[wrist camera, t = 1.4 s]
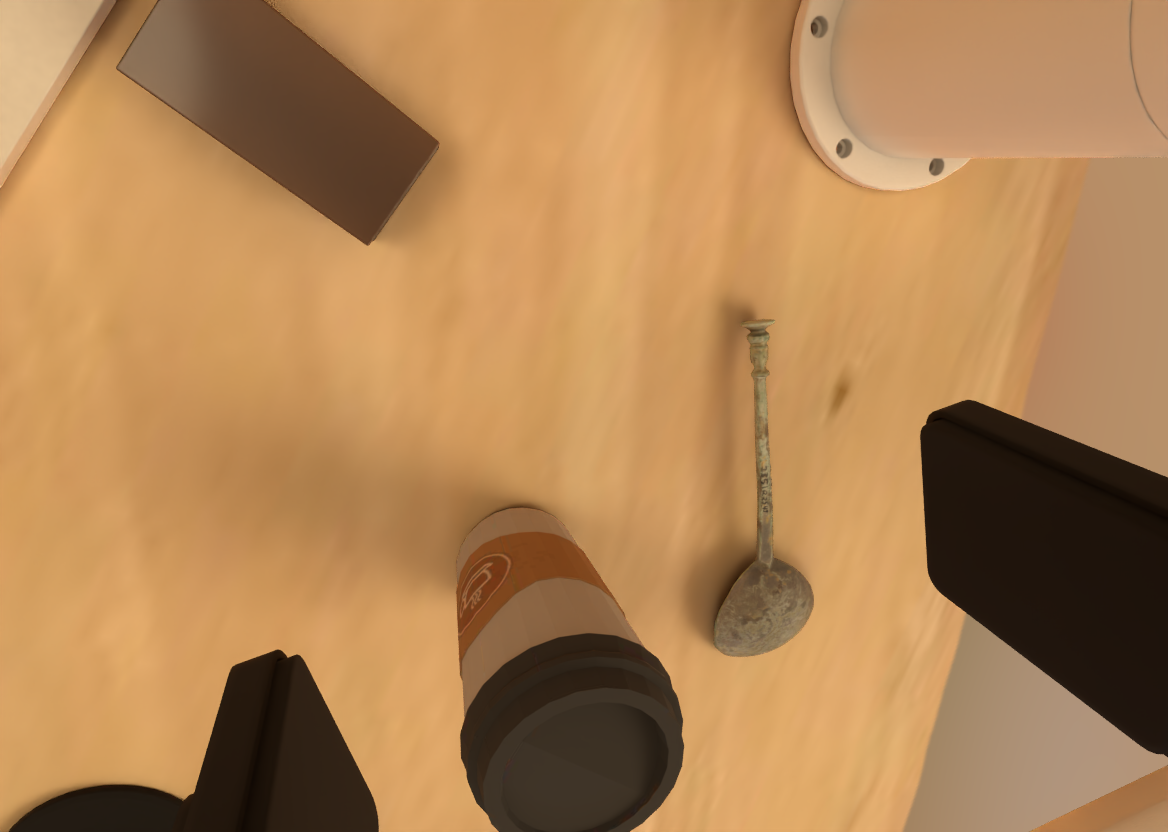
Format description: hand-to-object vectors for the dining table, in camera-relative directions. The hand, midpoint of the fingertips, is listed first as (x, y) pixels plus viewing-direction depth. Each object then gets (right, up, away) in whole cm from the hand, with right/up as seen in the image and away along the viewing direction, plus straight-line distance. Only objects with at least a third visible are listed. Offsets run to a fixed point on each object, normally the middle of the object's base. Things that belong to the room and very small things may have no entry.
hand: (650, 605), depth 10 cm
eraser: (-13, +15, +19) cm, 27 cm away
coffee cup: (-5, -5, +28) cm, 29 cm away
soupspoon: (+9, -2, +31) cm, 33 cm away
